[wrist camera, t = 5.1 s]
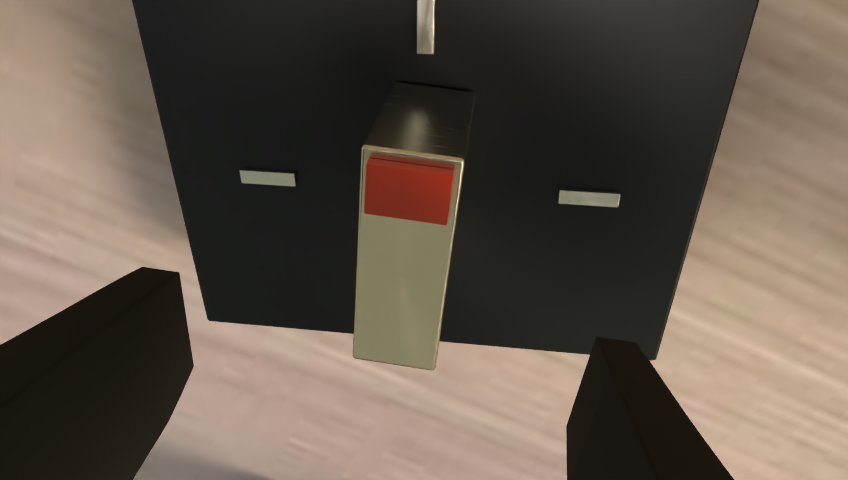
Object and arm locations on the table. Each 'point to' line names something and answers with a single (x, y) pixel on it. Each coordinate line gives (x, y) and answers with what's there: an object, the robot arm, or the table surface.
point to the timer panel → (485, 162)
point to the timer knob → (409, 222)
